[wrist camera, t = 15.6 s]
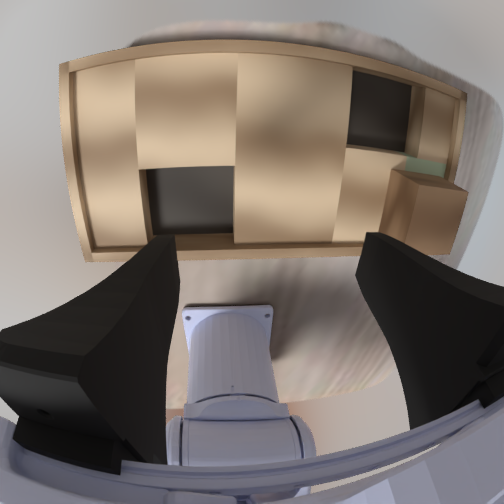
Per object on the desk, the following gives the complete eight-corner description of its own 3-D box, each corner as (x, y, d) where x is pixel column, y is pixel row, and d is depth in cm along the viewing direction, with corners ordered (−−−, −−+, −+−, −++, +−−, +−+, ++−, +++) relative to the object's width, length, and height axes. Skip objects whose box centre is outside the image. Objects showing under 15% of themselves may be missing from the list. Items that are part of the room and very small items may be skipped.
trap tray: (418, 239, 24) (433, 253, 21) (97, 244, 21) (85, 262, 18) (446, 90, 17) (467, 93, 14) (77, 66, 14) (59, 64, 11)
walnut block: (425, 232, 21) (449, 254, 18) (378, 232, 20) (400, 256, 17) (439, 176, 18) (468, 192, 15) (391, 168, 18) (419, 185, 15)
